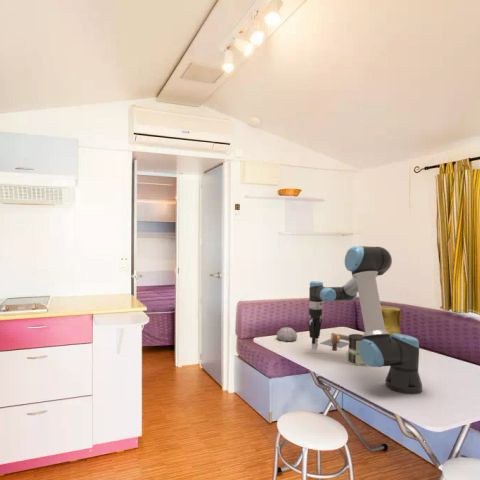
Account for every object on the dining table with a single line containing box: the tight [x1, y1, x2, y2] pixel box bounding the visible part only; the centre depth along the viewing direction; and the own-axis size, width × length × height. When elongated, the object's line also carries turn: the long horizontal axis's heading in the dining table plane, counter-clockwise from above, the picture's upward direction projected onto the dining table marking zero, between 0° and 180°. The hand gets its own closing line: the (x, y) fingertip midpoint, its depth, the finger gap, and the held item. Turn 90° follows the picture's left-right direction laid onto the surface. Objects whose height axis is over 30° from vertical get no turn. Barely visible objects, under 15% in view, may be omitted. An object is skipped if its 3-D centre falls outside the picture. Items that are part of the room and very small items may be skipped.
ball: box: [330, 333, 341, 342], centre depth 246 cm, size 6×6×6 cm
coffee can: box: [347, 333, 368, 367], centre depth 206 cm, size 10×10×14 cm
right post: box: [331, 333, 338, 352], centre depth 229 cm, size 3×3×9 cm
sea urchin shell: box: [276, 326, 298, 342], centre depth 250 cm, size 13×14×8 cm
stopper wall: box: [330, 332, 349, 342], centre depth 254 cm, size 2×18×2 cm, turn 51°
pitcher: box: [381, 305, 402, 338], centre depth 239 cm, size 17×19×25 cm
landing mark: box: [319, 338, 349, 349], centre depth 244 cm, size 14×14×1 cm
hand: (314, 349), depth 223 cm, fingers closed
